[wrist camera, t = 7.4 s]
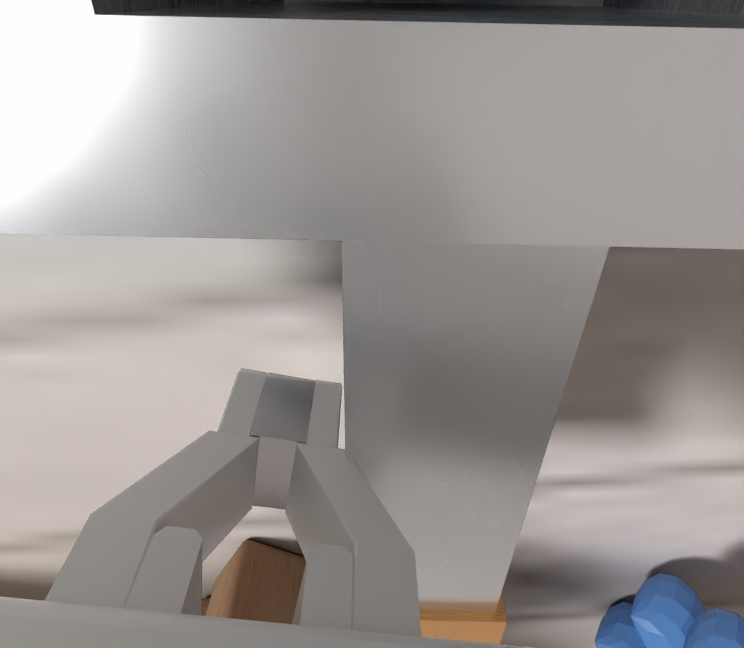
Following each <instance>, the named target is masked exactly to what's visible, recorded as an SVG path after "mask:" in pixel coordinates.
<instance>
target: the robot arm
mask: <svg viewBox="0 0 744 648" xmlns="http://www.w3.org/2000/svg"><path fill="white" fill-rule="evenodd" d="M341 396H342V386H341V383H335V382H327V381H320V380H316V381H315V380H309V379H303V378H297V377H291V376H286V375H280V374H274V373H269V372H268V373H266V372H260V371H254V370H249V369H243V368H241V370H240V371H239V372H238V374H237V377H236V380H235V383H234V385H233V388H232V391H231V394H230V397H229V400H228V403H227V406H226V408H225V411H224V414H223V417H222V420H221V423H220V426H219V429H218V432H215V431H208V432H207V433H205V434H204V435H202V436H201V437H199V438H198V439H197V440H195V441H194V442H192V443H191V444H190V445H188V446H187V447H185V448H184V449H182V450H181V451H180V452H178V453H177V454H175V455H174V456H173V457H171V458H170V459H168V460H167V461H165V462H164V463H163V464H161V465H160V466H158V467H157V468H156V469H154V470H153V471H151V472H150V473H148V474H147V475H146V476H144V477H143V478H141V479H140V480H139V481H137V482H136V483H134V484H133V485H131V486H130V487H129V488H127V489H126V490H124V491H123V492H122V493H120V494H119V495H117V496H116V497H115V498H113V499H112V500H110V501H109V502H107V503H106V504H105V505H103V506H102V507H100V508H99V509H98V510H96V511H95V512H93V513H92V514H91V515H90V516H89V518H88V520H87V522H86V524H85V526H84V528H83V529H82V531H81V533H80V535H79V537H78V539H77V541H76V543H75V544H74V546H73V548H72V550H71V552H70V554H69V556H68V557H67V559H66V561H65V563H64V565H63V567H62V569H61V570H60V572H59V574H58V576H57V578H56V580H55V582H54V583H53V585H52V587H51V589H50V591H49V593H48V595H47V596H46V598H45V600H44V601H42V600H31V599H21V598H10V597H0V648H536V647H526V646H515V645H505V644H494V643H484V642H473V641H463V640H452V639H442V638H431V637H421V626H420V613H419V600H418V587H417V573H416V560H415V552H414V551H413V549H412V548H411V546H410V545H409V543H408V542H407V540H406V539H405V537H404V536H403V534H402V533H401V531H400V530H399V528H398V527H397V525H396V524H395V522H394V521H393V519H392V518H391V516H390V515H389V513H388V512H387V510H386V509H385V507H384V506H383V504H382V503H381V502H380V500H379V499H378V497H377V496H376V494H375V493H374V491H373V490H372V488H371V487H370V485H369V484H368V482H367V481H366V479H365V478H364V476H363V475H362V473H361V472H360V470H359V469H358V467H357V466H356V464H355V463H354V461H352V460H346V456H345V449H339V448H338V437H339V423H340V409H341ZM252 506H262V507H271V508H278V509H285V510H286V514H287V517H288V519H289V522H290V524H291V526H292V529H293V531H294V533H295V536H296V538H297V541H298V543H299V545H300V548H301V550H302V553H303V555H304V557H305V560H306V566H305V570H304V574H303V579H302V583H301V587H300V591H299V595H298V600H297V604H296V608H295V612H294V616H293V621H292V624H285V623H275V622H264V621H253V620H243V619H232V618H222V617H211V616H201V599H202V562H203V561H204V560H205V559H206V557H207V556H208V555H209V554H210V553H211V552H212V551H213V550H214V549H215V548H216V547H217V545H218V544H219V543H220V542H221V541H222V540H223V539H224V538H225V537H226V536H227V535H228V534H229V532H230V531H231V530H232V529H233V528H234V527H235V526H236V525H237V524H238V523H239V522H240V521H241V519H242V518H243V517H244V516H245V515H246V514H247V513H248V512H249V511H250V510H251V509H252Z"/></svg>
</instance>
